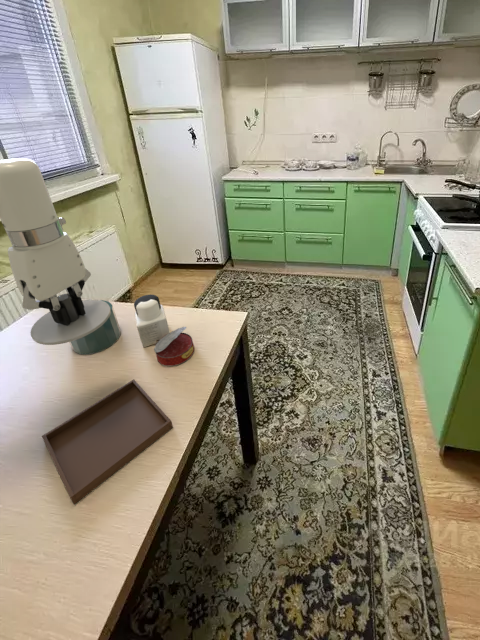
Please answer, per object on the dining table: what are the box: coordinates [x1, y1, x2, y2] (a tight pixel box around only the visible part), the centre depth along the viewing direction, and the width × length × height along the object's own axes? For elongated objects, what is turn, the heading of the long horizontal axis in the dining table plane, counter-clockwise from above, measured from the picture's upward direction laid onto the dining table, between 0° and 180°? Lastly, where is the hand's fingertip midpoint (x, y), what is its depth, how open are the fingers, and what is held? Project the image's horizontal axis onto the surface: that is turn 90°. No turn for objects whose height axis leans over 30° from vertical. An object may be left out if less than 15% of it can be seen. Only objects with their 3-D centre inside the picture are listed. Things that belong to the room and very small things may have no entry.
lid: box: [29, 293, 111, 346], centre depth 64 cm, size 14×14×6 cm
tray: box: [41, 379, 174, 505], centre depth 67 cm, size 19×17×2 cm
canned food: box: [153, 326, 195, 367], centre depth 87 cm, size 11×10×10 cm
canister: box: [68, 299, 122, 355], centre depth 93 cm, size 13×13×10 cm
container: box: [133, 294, 171, 348], centre depth 93 cm, size 8×8×13 cm
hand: (71, 317), depth 64 cm, fingers closed on lid, 2 cm apart
